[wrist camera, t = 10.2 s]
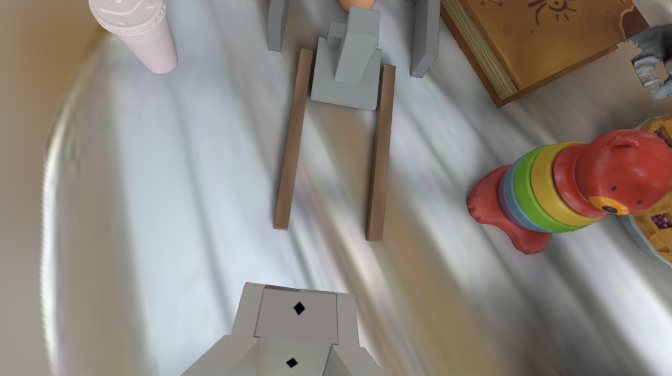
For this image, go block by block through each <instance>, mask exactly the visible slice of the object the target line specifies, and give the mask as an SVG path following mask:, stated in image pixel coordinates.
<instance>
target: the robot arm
mask: <svg viewBox="0 0 672 376" xmlns="http://www.w3.org/2000/svg"><path fill="white" fill-rule="evenodd" d="M181 376H386V375H385V374H384V373H383V371H382V370H381V369H380V367H379V366H378V365H377V363H376V362H375V360H374V359H373V358H372V356H371V355H370V354H369V352H368V351H367V350H366V348H364V347H360V346H359V336H358V325H357V314H356V304H355V297H354V295H353V294H346V293H335V292H328V291H318V290H308V289H295V288H288V287H281V286H273V285H266V284H265V285H264V284H257V283H249V282H246V283H245V285H244V288H243V292H242V295H241V299H240V303H239V307H238V310H237V314H236V318H235V322H234V326H233V329H232V333H231V335H226V334H225V335H224V336H223V337H222V338H221V339H220V340H219V341H218V342H217V343H215V344H214V345H213V346H212V347H211V348H210V349H209V350H208V351H207V352H206V353H205V354H204V355H202V356H201V357H200V358H199V359H198V360H197V361H196V362H195V363H194V364H193V365H192V366H191V367H189V368H188V369H187V370H186V371H185V372H184V373H183V374H182V375H181Z"/></svg>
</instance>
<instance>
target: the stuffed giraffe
mask: <svg viewBox="0 0 672 376" xmlns="http://www.w3.org/2000/svg"><path fill="white" fill-rule="evenodd" d="M629 40H632V41H634V42H635V43H634V44H635V45H636V43H637V42H638V46H637V47H638V48H640V49H641V48H642V53H643V54H642V53H641V54H640V55H638V56H635V58H633V60H630V61H632V62H634V67H635V70H636V72H637V74H638V76H639V78H640V77H643V76H644V75H646V76H647V75H648V76H649V77H648V78H645V77H644V78H645V79H646V80H645V79H642V83H643V84H644V87H646V85H647V86H650V84H652V85H651V87H652V88H653V89H652V90H650V92H651V93H653V94H651V93H649V94H650V95H651V96H653V97H655V98H654V100H658V99H662V98H665V96H667V94H668V93H669V95H668V96H670V95H671V94H672V93H671V91H672V24H669V25H664V26H660V27H655V28H652V29H646V30H645V31H643V32H641V33H639V34H637V35H635V36H633V37H631V38H629V39H627V40H625V41H623V42H626V41H627V42H628V41H629ZM662 60H663V63H664V67H665V69H666V71H667V73H668V74H669V77H668V79H667V80H665V81H664V82H663V81H662V82H660V84H658V85H656V84H654V82H655V81H659V80H660V79H661V78H655V76H654V78H653V77H651V76H650V73H651V69H652V68H654V69H655V65H654V64H655V63H659V62H661V61H662ZM654 69H653V70H654ZM652 76H653V75H652ZM658 83H659V82H658ZM646 88H648V87H646ZM653 97H651V98H652V99H653ZM656 98H657V99H656ZM652 104H653V102H652ZM653 105H654V104H653Z"/></svg>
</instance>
